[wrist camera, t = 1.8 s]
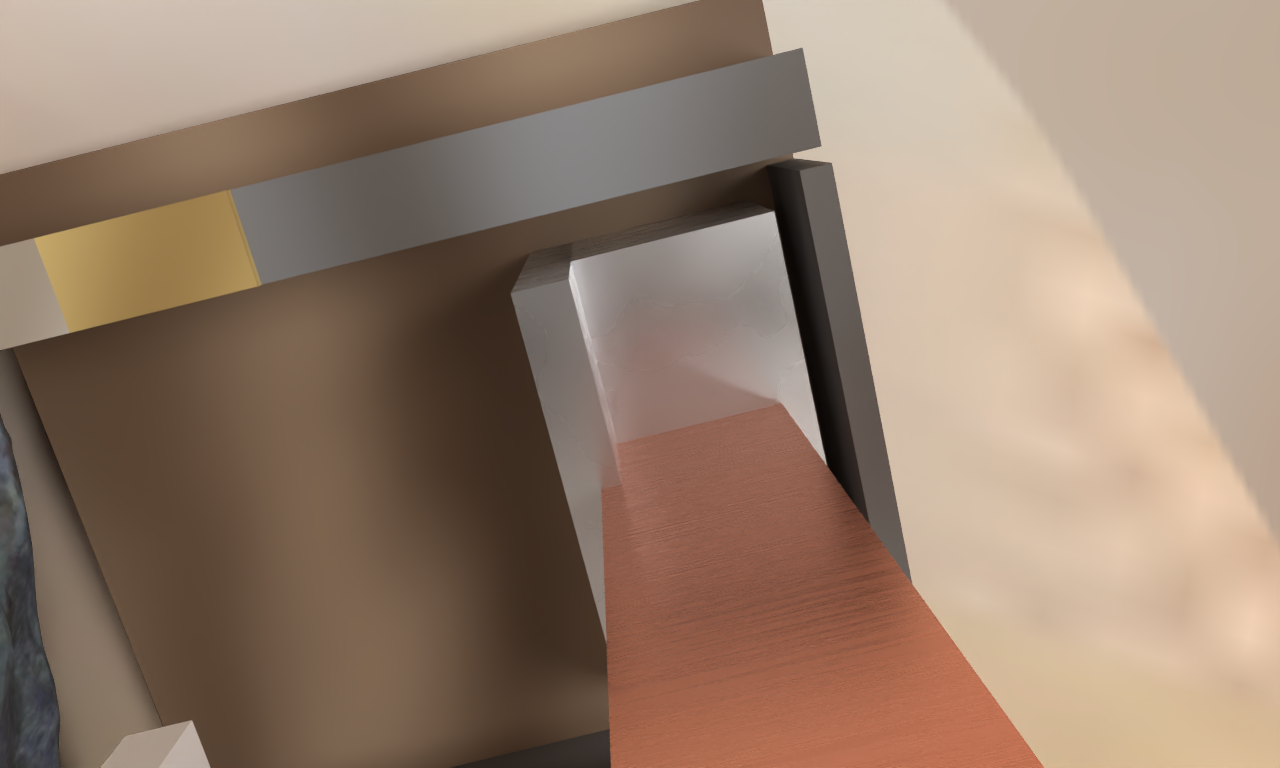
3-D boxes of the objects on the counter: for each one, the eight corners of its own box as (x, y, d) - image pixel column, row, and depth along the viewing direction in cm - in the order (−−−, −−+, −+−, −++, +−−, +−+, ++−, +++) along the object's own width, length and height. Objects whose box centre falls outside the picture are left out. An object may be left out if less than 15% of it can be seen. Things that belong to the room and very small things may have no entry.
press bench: (264, 896, 23) (194, 1060, 19) (-13, 184, 19) (-176, 198, 15) (900, 743, 23) (968, 874, 19) (748, -6, 19) (792, -44, 15)
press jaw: (646, 685, 21) (754, 1708, 7) (530, 252, 19) (379, 562, 5) (838, 639, 21) (1306, 1580, 7) (745, 199, 19) (1159, 371, 5)
